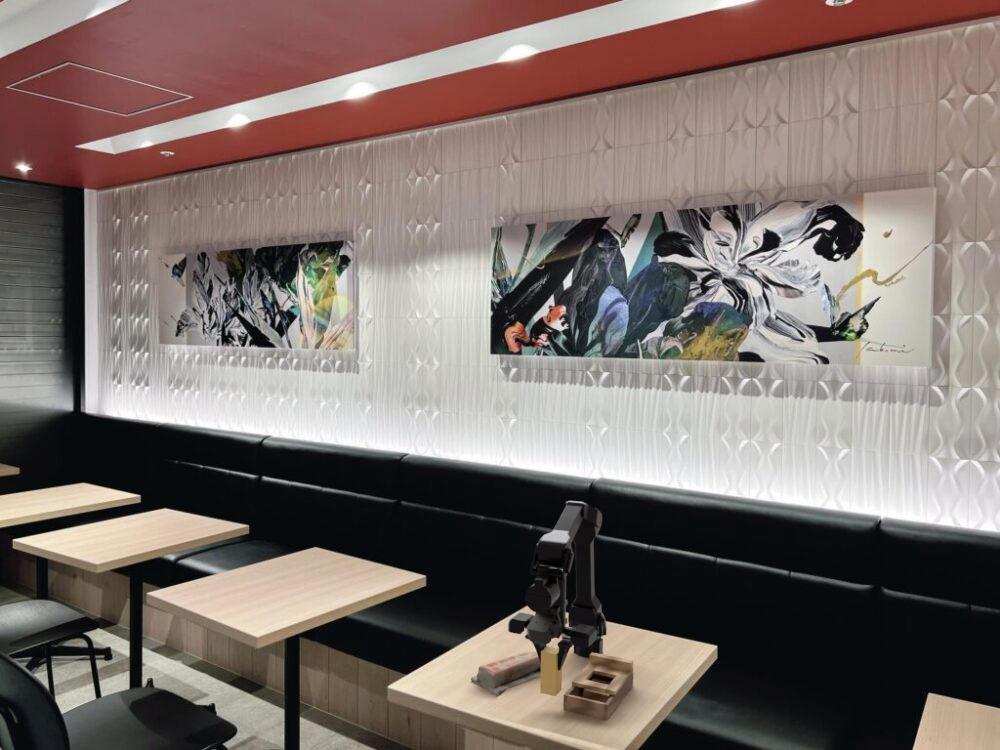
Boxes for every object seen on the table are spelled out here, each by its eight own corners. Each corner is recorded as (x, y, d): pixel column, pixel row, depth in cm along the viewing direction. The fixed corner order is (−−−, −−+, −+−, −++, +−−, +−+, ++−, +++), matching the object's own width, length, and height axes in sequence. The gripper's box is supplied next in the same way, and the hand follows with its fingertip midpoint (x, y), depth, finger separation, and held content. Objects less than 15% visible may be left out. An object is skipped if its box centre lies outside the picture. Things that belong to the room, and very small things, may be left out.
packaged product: (498, 677, 178) (470, 662, 185) (497, 698, 178) (470, 682, 185) (555, 656, 189) (527, 643, 197) (554, 676, 190) (526, 662, 197)
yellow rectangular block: (540, 692, 171) (541, 651, 170) (546, 686, 174) (547, 645, 173) (555, 696, 169) (556, 654, 169) (561, 689, 172) (562, 648, 172)
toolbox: (563, 712, 170) (563, 694, 170) (591, 680, 186) (592, 664, 186) (607, 723, 166) (607, 705, 166) (632, 689, 182) (633, 672, 182)
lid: (571, 685, 174) (572, 672, 174) (591, 663, 186) (592, 651, 186) (615, 695, 170) (615, 682, 170) (633, 672, 182) (633, 660, 181)
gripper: (497, 601, 167) (496, 673, 168) (579, 617, 159) (578, 692, 160) (519, 586, 177) (518, 654, 178) (598, 600, 169) (596, 671, 170)
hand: (551, 667), depth 171 cm, fingers closed on yellow rectangular block, 3 cm apart
